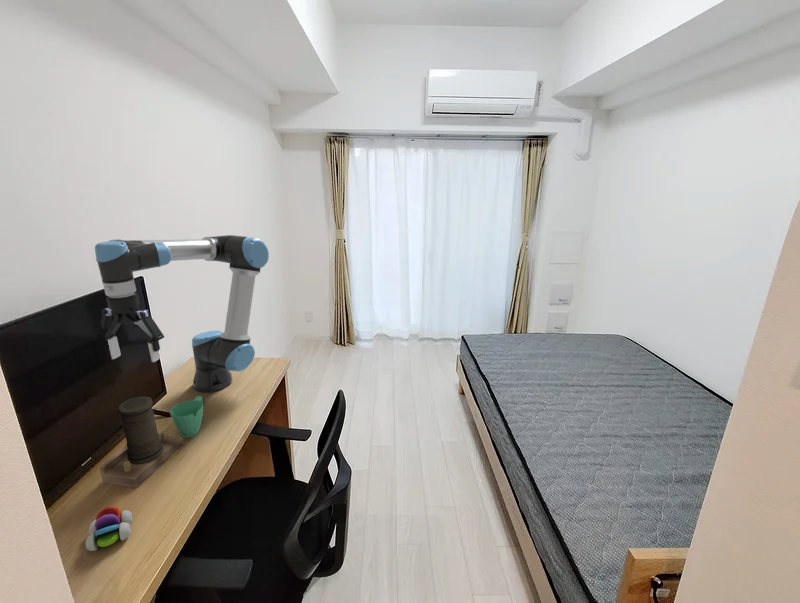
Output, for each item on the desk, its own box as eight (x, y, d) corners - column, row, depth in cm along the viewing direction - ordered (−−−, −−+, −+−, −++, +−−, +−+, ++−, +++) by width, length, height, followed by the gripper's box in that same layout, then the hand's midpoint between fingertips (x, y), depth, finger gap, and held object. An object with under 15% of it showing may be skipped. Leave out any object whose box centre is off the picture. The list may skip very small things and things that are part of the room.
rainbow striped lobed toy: (134, 514, 99) (129, 492, 97) (130, 544, 91) (124, 520, 89) (93, 527, 95) (87, 504, 93) (85, 560, 87) (78, 535, 85)
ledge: (154, 440, 127) (151, 425, 125) (183, 445, 126) (181, 429, 124) (103, 482, 109) (98, 465, 107) (136, 488, 108) (133, 470, 106)
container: (170, 448, 119) (160, 398, 114) (144, 467, 111) (133, 414, 106) (147, 442, 122) (137, 393, 116) (120, 461, 114) (108, 408, 108)
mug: (198, 442, 127) (194, 416, 124) (168, 442, 127) (163, 416, 124) (217, 416, 141) (214, 393, 138) (190, 416, 141) (186, 392, 138)
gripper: (72, 295, 110) (89, 361, 117) (150, 300, 108) (164, 367, 114) (94, 288, 117) (110, 350, 124) (169, 292, 115) (181, 356, 121)
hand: (136, 358), depth 119 cm, fingers open, 13 cm apart
